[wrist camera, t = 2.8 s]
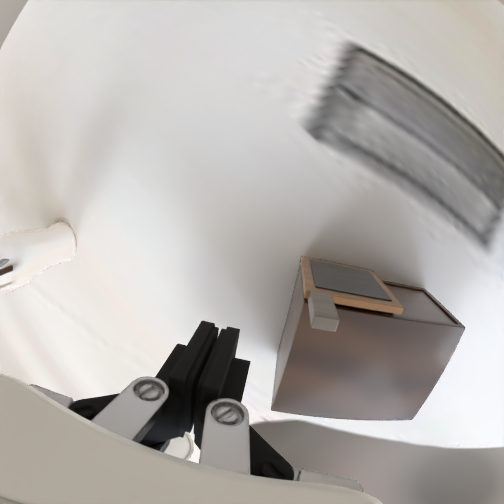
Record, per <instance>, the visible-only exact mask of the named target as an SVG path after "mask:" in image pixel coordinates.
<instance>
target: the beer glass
mask: <svg viewBox="0 0 504 504" xmlns="http://www.w3.org/2000/svg"><path fill="white" fill-rule="evenodd" d="M75 252H76V240H75V236H74V233H73V231H72V229H71V228H70V227H69V226H68V225H67V224H66V223H64V222H57V223H55V224H53V225H51V226H49V227H47V228H45V229H41V230H25V231H14V232H9V233H5V234H1V235H0V296H2V295H5V294H8V293H10V292H13V291H15V290H17V289H19V288H21V287H23V286H25V285H26V284H28V283H29V282H31V281H32V280H33V279H35V278H36V277H37V276H39V275H40V274H41V273H42V272H44V271H45V270H46V269H48V268H49V267H51V266H53V265H56V264H60V263H66V262H69V261H71V260H72V259H73V257H74V255H75Z"/></svg>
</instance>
